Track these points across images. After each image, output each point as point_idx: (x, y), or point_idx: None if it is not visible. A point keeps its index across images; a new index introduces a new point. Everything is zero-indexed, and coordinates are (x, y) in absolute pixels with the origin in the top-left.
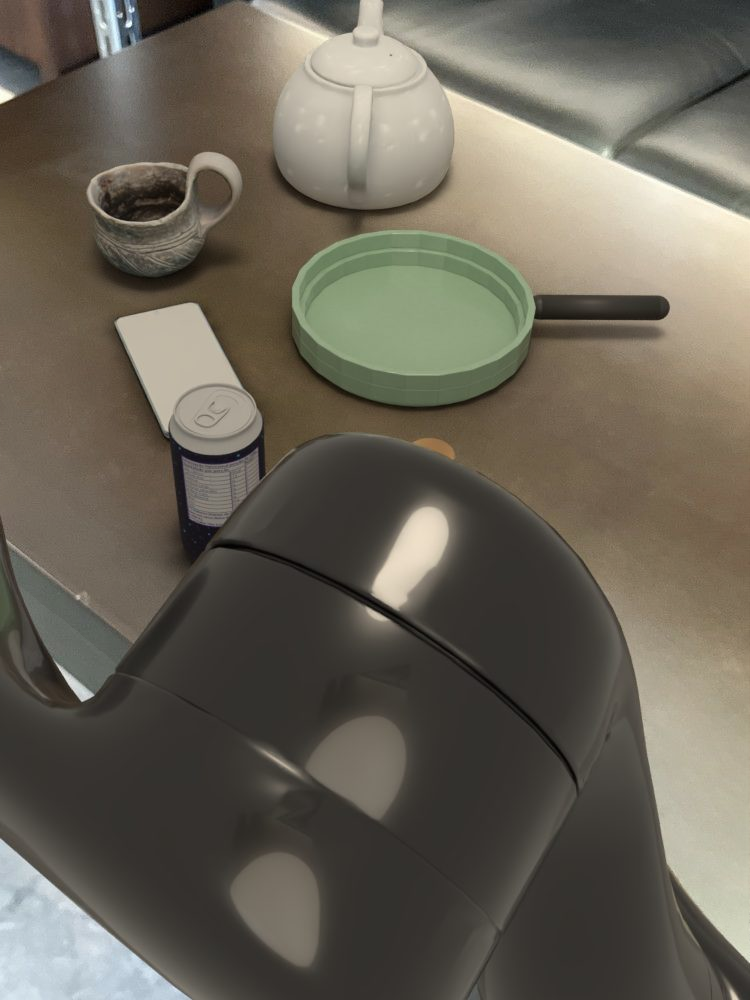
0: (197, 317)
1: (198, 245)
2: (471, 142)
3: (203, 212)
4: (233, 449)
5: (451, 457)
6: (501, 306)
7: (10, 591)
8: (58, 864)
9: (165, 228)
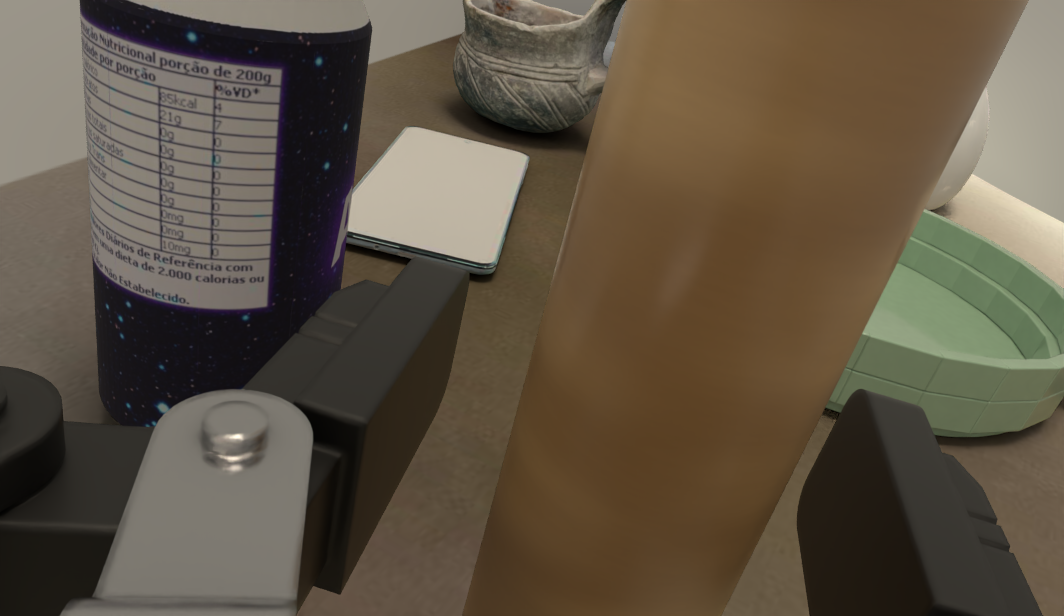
0: (515, 164)
1: (573, 101)
2: (987, 205)
3: (600, 67)
4: (182, 5)
5: None
6: (1005, 341)
7: None
8: None
9: (534, 43)
